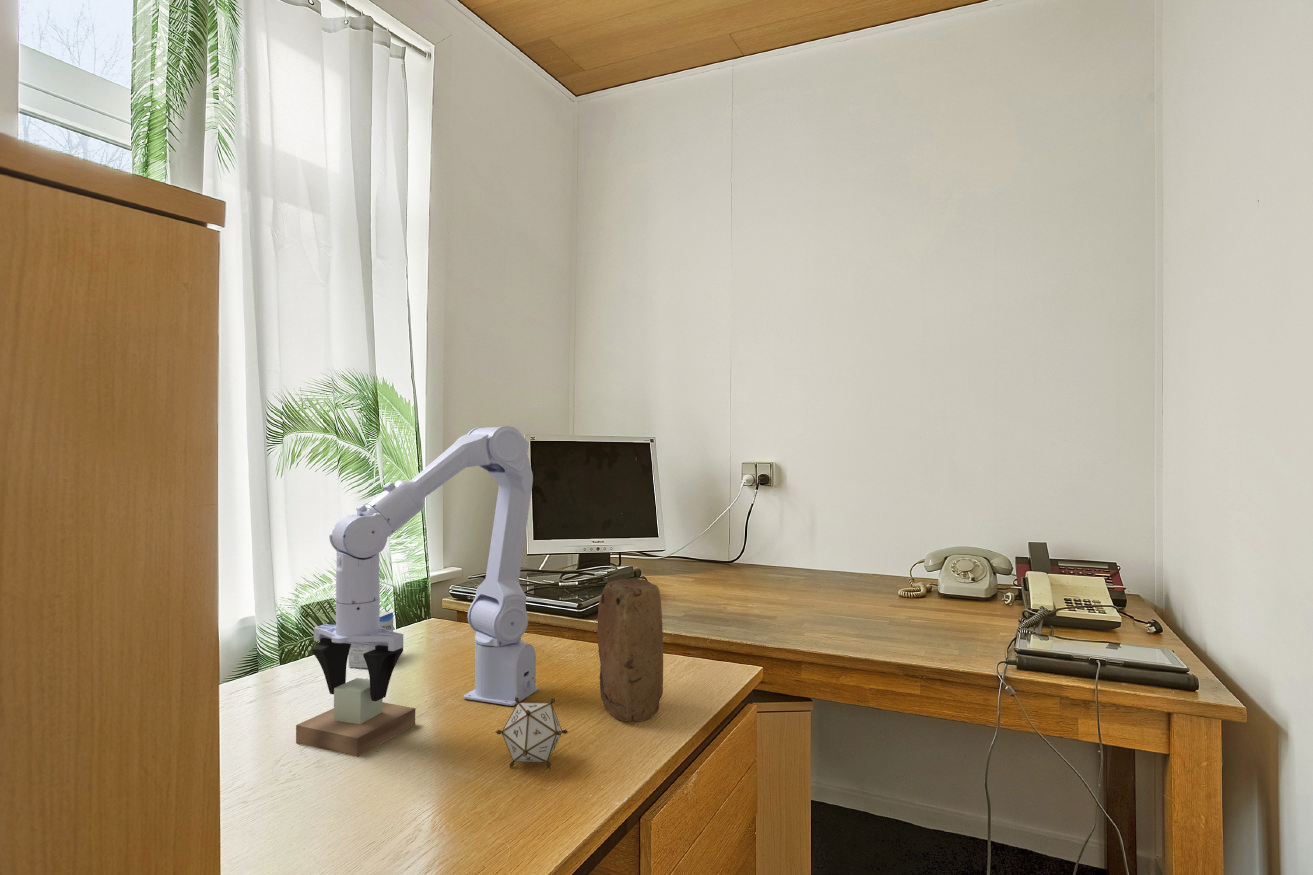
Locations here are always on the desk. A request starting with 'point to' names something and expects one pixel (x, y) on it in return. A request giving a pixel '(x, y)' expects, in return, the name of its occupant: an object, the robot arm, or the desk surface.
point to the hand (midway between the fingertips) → (357, 695)
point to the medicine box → (358, 650)
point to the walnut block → (354, 730)
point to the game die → (532, 732)
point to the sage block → (355, 702)
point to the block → (630, 648)
